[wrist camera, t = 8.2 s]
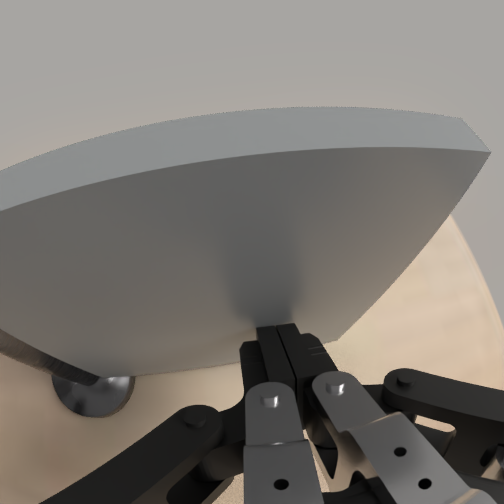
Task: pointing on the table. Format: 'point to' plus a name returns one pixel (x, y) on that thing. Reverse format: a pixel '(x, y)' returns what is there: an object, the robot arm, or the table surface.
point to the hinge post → (73, 380)
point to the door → (221, 231)
